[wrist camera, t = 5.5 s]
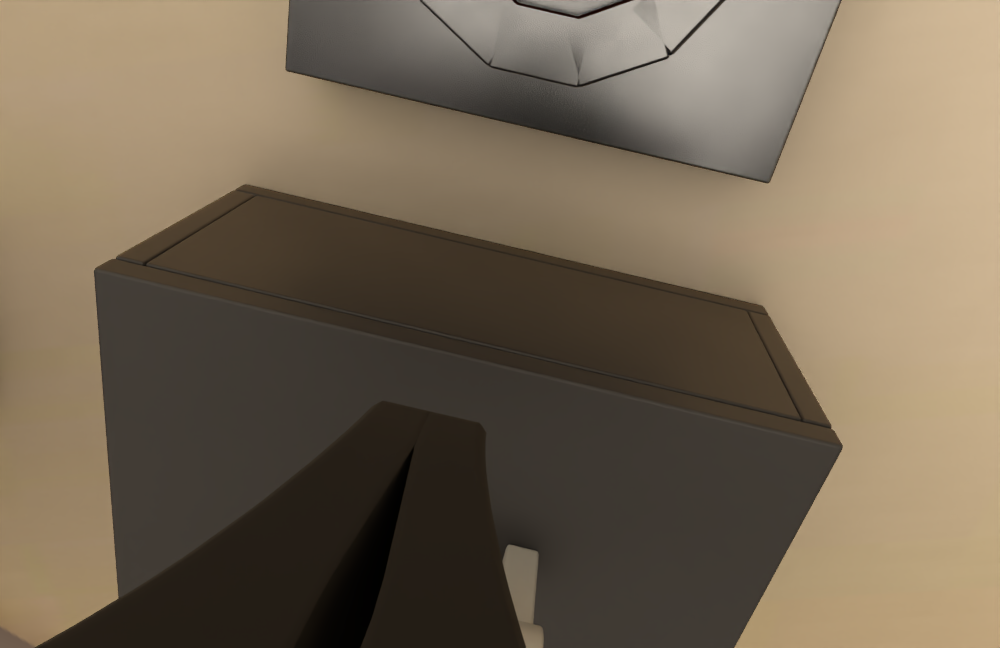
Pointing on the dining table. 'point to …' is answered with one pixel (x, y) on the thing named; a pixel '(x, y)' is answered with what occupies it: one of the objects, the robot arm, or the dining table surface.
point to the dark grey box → (488, 297)
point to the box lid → (508, 450)
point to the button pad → (586, 67)
